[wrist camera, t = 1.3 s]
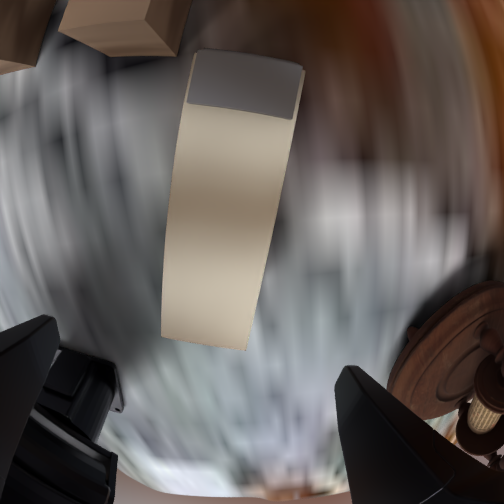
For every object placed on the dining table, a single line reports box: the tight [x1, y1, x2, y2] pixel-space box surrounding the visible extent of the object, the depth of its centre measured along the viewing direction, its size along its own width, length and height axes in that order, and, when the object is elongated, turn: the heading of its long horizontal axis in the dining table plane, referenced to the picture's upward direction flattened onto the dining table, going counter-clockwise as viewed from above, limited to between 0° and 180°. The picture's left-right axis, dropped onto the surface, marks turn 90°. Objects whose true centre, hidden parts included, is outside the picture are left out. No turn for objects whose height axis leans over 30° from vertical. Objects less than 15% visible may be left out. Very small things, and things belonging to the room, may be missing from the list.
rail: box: [161, 48, 305, 351], centre depth 13 cm, size 12×4×6 cm, turn 170°
